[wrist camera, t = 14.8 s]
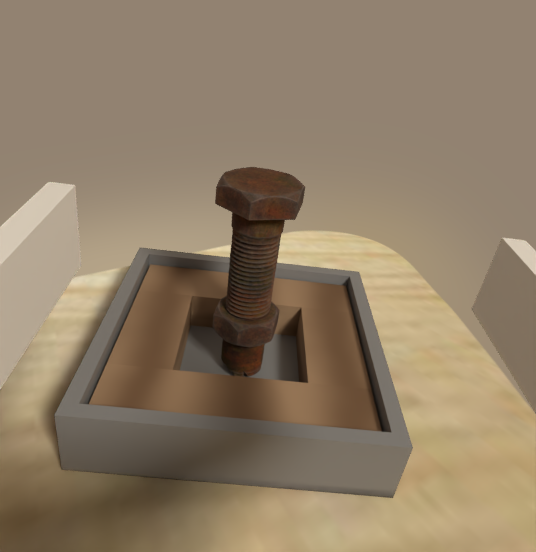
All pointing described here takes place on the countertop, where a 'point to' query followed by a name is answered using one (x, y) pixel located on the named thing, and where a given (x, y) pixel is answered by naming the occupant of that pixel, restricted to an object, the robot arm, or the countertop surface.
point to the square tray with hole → (235, 389)
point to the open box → (233, 431)
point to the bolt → (253, 261)
